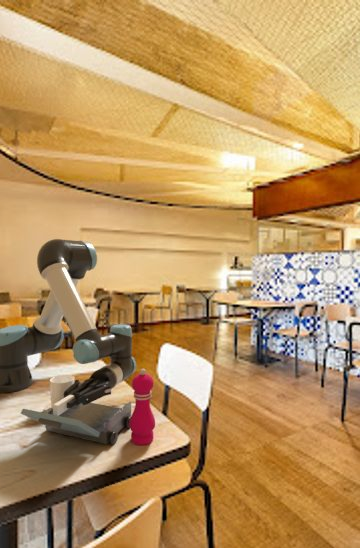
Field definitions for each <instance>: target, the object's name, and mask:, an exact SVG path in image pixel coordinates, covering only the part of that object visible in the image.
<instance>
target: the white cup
mask: <svg viewBox="0 0 360 548" xmlns="http://www.w3.org/2000/svg"><path fill="white" fill-rule="evenodd" d="M74 382H75V376H74V375H71V374H61V375H60V374H59V375H56V376H52V377H51V378H50V379H49V392H50V401H51V402H50V404H51V405H50V406H51V408H53V404H55V403H57V402H58V401H60V400H61V399H63V398H64V391H66V390H67V389H68V388H69V387H70V386H71V385H72V384H74ZM51 408H50V409H51Z"/></svg>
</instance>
